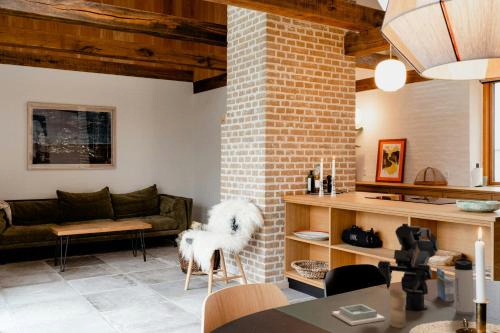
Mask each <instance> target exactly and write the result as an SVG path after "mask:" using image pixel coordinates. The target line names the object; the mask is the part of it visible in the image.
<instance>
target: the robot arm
mask: <svg viewBox="0 0 500 333" xmlns="http://www.w3.org/2000/svg"><path fill="white" fill-rule="evenodd" d="M394 233H395V235H396V238H397V242H399V245H400V246H401V248H400V249H394V254H393V259H394V262H395V264H397V265H394V264H393V265H392V264H391V262H390V261H387V260H379V261H378V263H377V269H378V270H379V273H380V274H381V275H383V276H384V277H385V283H386V288H387V289H388V290H390V289H389V288H390V286H391V282H392V278H393V275H392V274H393V272H401V273H403V276H401V281H400V283H401V290H403V291H405V309H408V310H411V311H414V312H417V311H422V310H426V309H427V310H428V307H427V306H425V295H428V294H429V289H428V285H427V282H426V281H428V280H432V278H433V271H432V268H431V266H430V264H428V263H429V261H430V258H432V257H435V256H436V254H437V252H439V243H438V242H439V241H438V238H437V236H435V235H434V234H433V233H432V230H431V228H429V227H421V226H419V225H418V226H417V225H416V226H415V225H413V226H412V225H409V224H408V223H402V224H401V225H400V226H398V227H397V228H396V229H395V232H394ZM423 238H425V239H423ZM427 238H428V239H427Z"/></svg>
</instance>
